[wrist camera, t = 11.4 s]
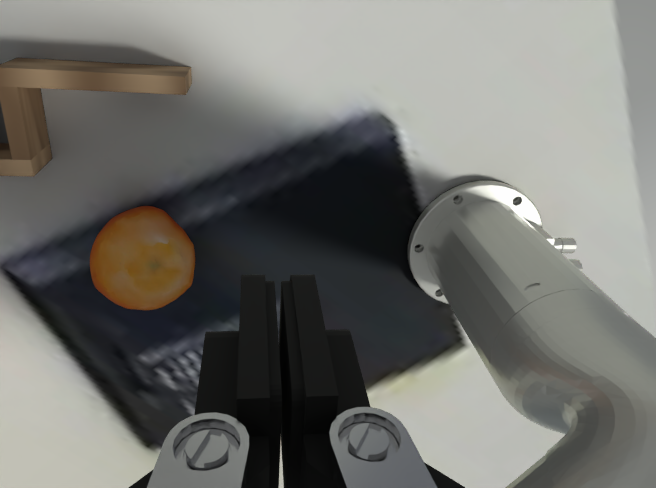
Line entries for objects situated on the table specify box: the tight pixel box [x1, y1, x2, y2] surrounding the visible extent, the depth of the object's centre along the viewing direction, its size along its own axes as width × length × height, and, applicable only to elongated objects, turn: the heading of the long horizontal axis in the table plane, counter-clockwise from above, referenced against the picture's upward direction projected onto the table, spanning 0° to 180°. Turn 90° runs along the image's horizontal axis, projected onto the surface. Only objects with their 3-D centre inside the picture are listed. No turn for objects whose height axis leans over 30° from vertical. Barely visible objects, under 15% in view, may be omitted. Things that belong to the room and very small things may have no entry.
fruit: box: [90, 206, 195, 310], centre depth 43 cm, size 8×8×8 cm
